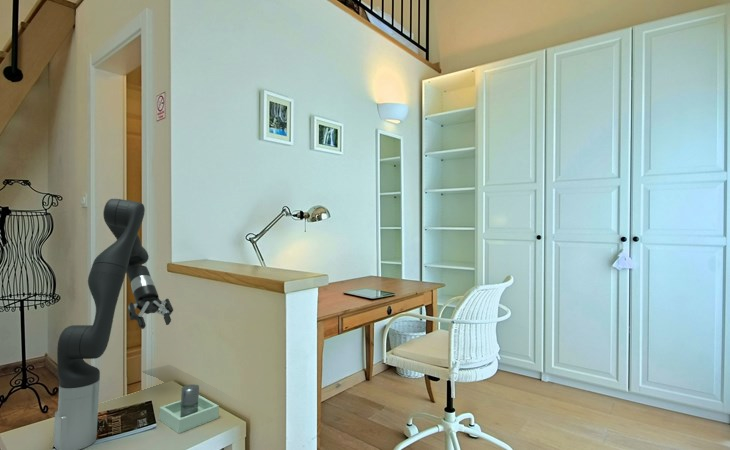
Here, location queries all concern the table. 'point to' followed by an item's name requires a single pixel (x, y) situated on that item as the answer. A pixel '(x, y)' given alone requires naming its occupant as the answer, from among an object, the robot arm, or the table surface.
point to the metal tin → (189, 400)
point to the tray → (173, 420)
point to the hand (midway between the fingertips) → (156, 325)
